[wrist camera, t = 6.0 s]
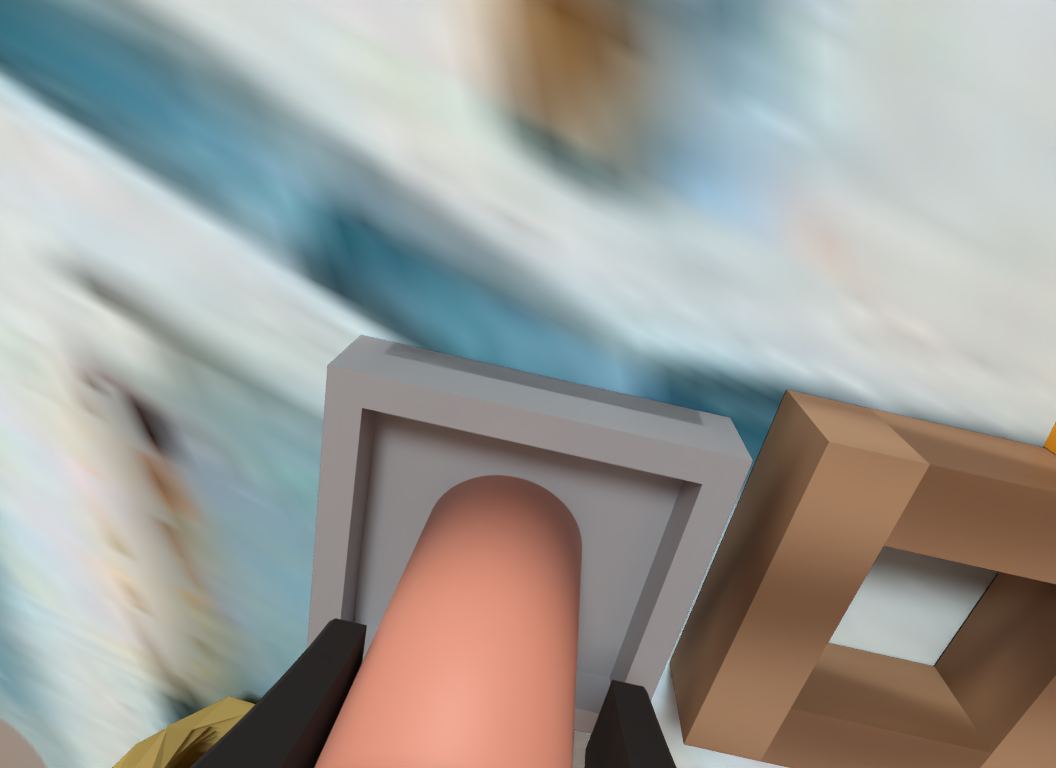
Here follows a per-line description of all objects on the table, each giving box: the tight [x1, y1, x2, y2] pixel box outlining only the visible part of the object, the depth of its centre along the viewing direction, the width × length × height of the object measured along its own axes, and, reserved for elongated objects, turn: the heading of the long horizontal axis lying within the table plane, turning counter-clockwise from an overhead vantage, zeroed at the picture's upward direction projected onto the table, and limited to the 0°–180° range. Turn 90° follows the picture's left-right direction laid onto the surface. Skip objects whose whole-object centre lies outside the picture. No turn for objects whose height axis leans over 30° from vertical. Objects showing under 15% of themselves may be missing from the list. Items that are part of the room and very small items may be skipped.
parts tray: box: [307, 335, 753, 733], centre depth 15 cm, size 9×9×2 cm
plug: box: [314, 475, 582, 768], centre depth 12 cm, size 4×4×7 cm
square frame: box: [670, 390, 1056, 768], centre depth 14 cm, size 9×9×2 cm
